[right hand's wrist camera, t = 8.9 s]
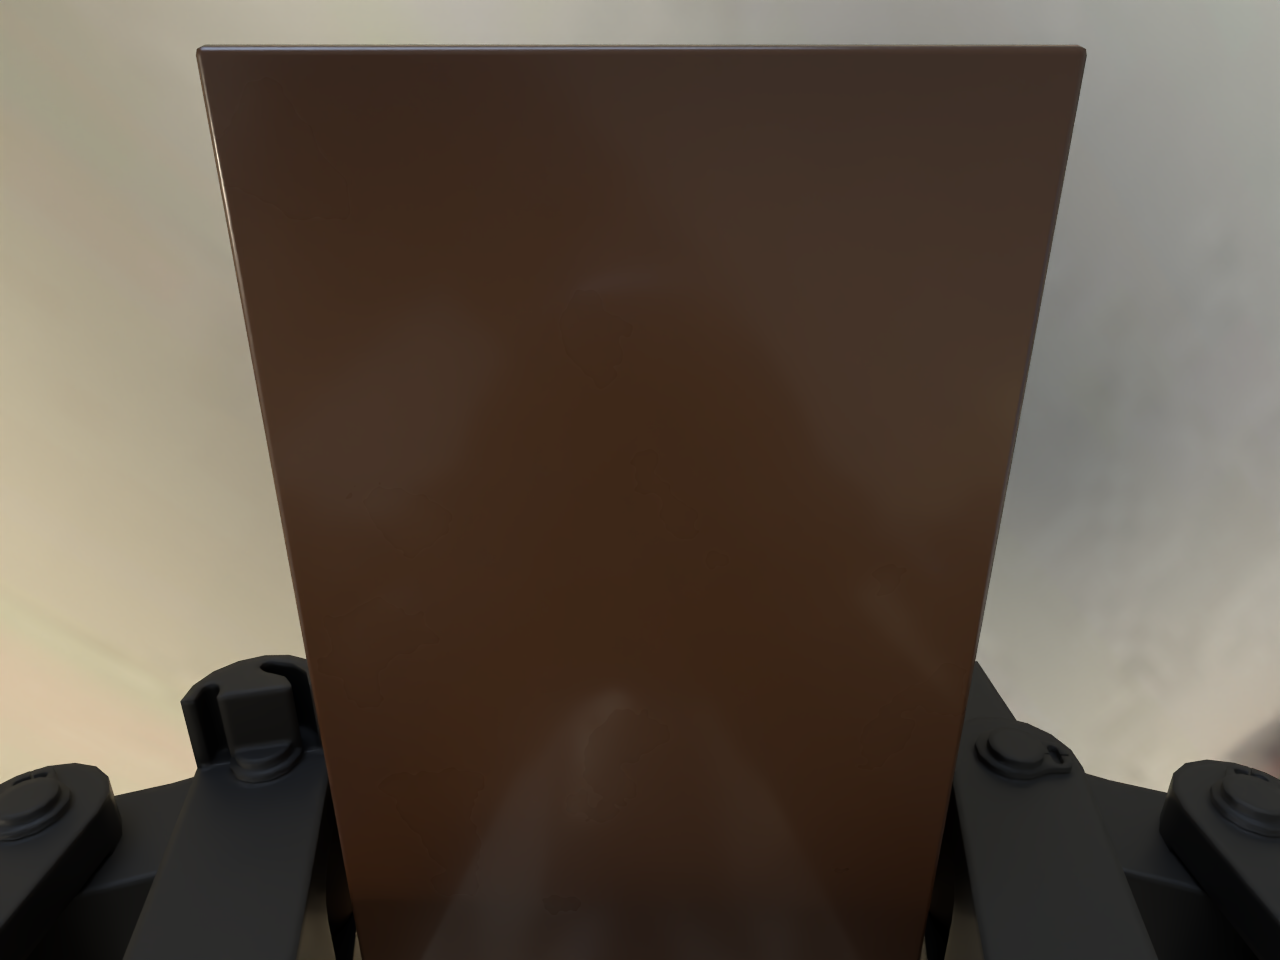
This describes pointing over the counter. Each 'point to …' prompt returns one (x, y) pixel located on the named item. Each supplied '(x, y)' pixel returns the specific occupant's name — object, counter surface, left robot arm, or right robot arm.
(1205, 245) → the counter surface
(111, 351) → the counter surface
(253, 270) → the walnut bar
